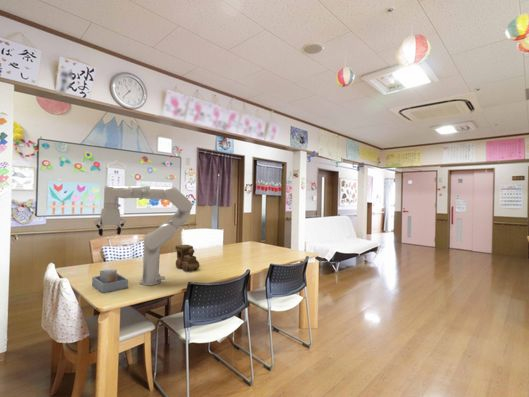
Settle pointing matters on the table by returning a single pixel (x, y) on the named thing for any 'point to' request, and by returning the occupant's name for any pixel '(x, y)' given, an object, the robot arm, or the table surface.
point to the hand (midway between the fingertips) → (109, 234)
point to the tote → (110, 284)
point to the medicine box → (106, 274)
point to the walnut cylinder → (112, 278)
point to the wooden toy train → (186, 257)
